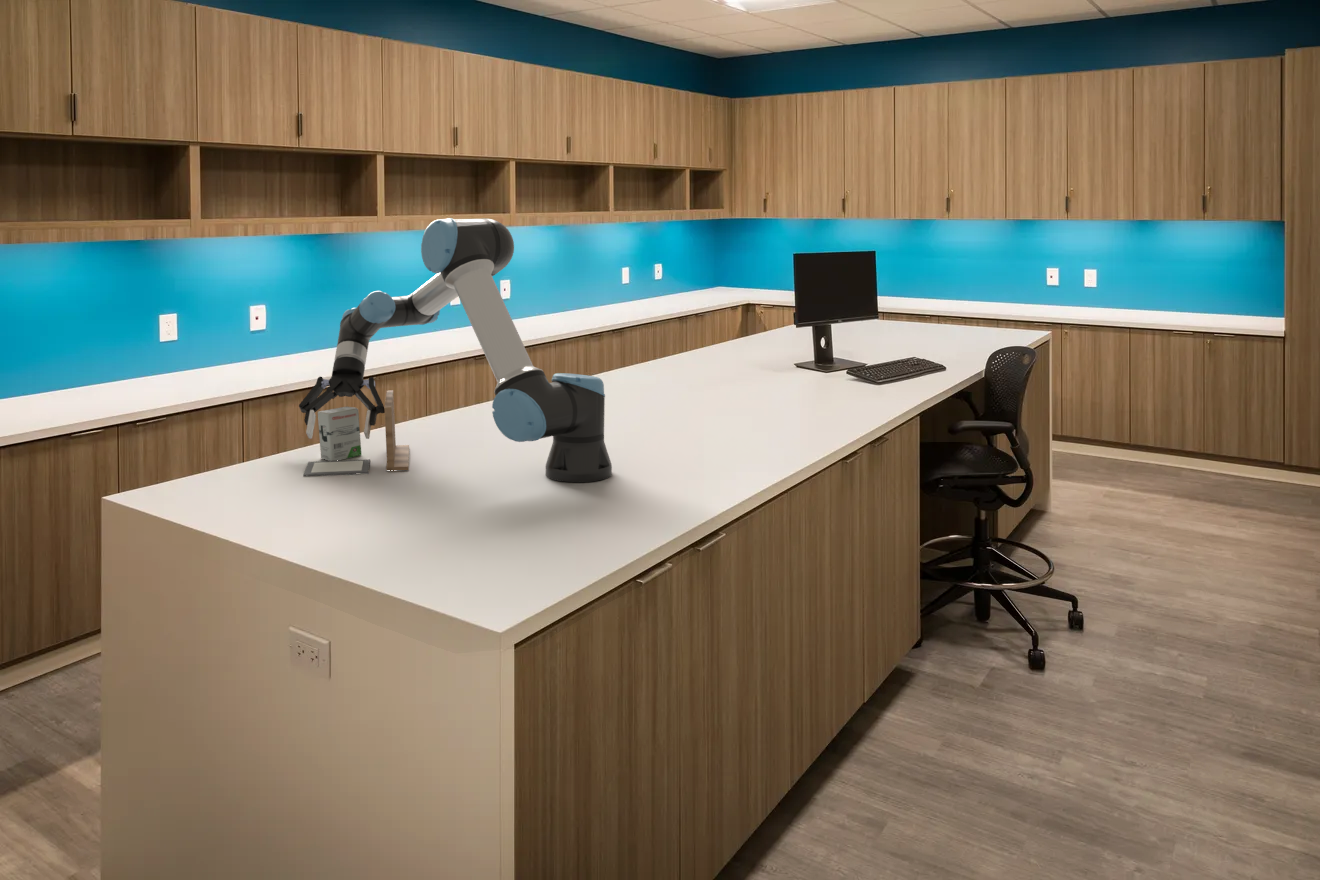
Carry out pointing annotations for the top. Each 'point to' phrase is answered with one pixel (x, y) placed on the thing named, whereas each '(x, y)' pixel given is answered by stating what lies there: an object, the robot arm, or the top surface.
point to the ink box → (339, 433)
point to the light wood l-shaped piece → (395, 453)
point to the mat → (337, 467)
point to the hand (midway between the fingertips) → (337, 435)
